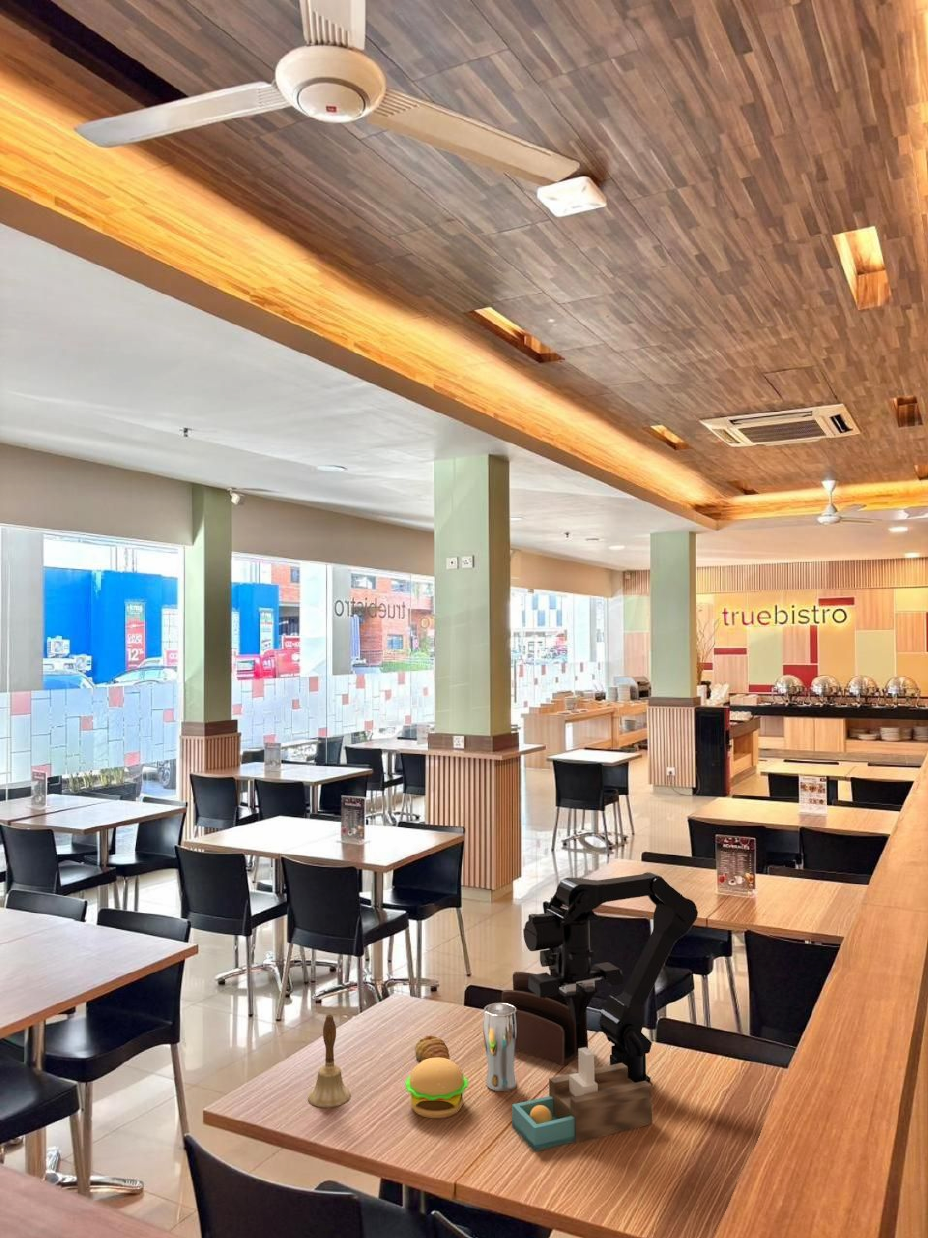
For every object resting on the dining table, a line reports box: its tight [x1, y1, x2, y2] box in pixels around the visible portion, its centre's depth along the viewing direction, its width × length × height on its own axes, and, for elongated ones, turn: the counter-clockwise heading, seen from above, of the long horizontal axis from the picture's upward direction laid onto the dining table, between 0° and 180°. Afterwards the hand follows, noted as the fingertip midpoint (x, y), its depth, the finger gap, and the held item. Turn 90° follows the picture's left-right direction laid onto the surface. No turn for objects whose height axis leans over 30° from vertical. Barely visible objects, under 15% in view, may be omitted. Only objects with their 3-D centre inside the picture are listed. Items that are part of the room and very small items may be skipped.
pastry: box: [414, 1034, 450, 1062], centre depth 194 cm, size 9×7×4 cm
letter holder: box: [501, 971, 589, 1067], centre depth 201 cm, size 10×20×14 cm, turn 51°
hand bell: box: [307, 1013, 352, 1109], centre depth 178 cm, size 8×8×16 cm
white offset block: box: [569, 1047, 598, 1096], centre depth 167 cm, size 3×5×8 cm, turn 23°
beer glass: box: [482, 1002, 518, 1092], centre depth 183 cm, size 7×7×15 cm
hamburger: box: [405, 1058, 469, 1119], centre depth 174 cm, size 12×12×9 cm
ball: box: [530, 1105, 552, 1124], centre depth 164 cm, size 4×4×4 cm
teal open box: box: [511, 1095, 576, 1152], centre depth 164 cm, size 8×9×4 cm
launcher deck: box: [548, 1063, 653, 1144], centre depth 169 cm, size 16×10×7 cm, turn 113°
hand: (576, 1023), depth 181 cm, fingers closed
